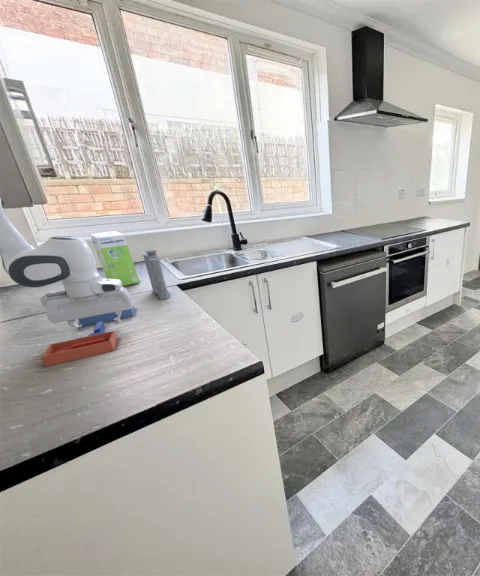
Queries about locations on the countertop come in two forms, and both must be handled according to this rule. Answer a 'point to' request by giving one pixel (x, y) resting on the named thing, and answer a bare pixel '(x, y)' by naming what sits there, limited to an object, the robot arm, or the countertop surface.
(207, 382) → the countertop surface
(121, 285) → the robot arm
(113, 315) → the blue tray
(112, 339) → the red tray
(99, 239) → the cleaning wipes box
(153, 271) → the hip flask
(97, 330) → the blue spoon
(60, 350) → the red spoon
